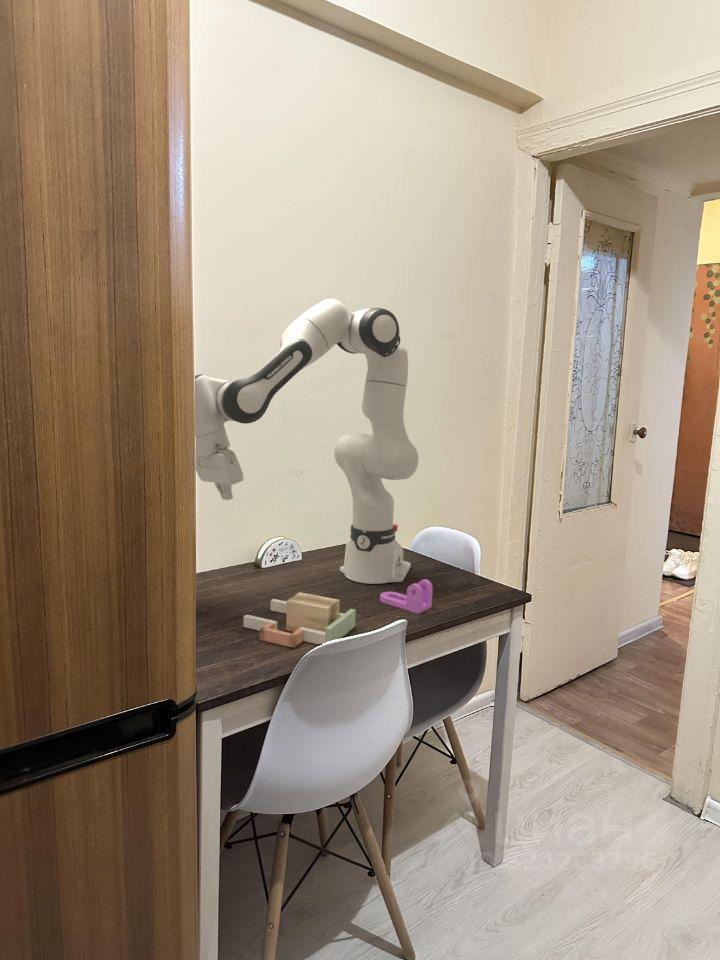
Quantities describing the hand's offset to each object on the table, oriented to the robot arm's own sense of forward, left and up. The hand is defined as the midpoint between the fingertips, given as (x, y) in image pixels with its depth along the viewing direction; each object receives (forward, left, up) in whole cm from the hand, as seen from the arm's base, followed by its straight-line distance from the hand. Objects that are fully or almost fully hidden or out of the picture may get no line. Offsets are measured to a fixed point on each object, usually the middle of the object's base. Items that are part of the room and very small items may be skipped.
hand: (227, 499), depth 164 cm
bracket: (-18, +40, -25) cm, 50 cm away
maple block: (+7, +28, -25) cm, 38 cm away
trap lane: (+7, +24, -25) cm, 35 cm away
